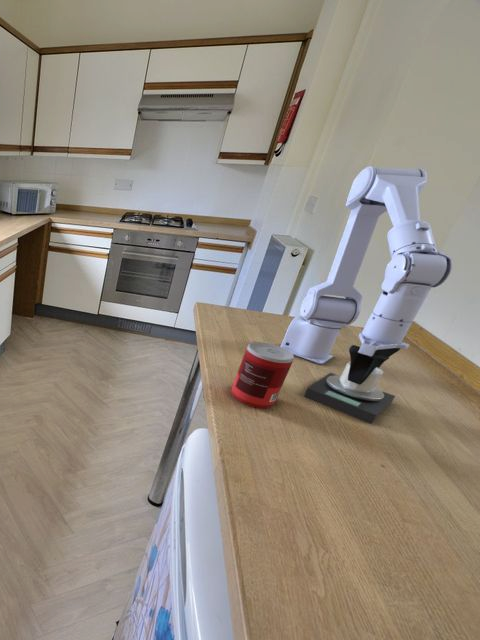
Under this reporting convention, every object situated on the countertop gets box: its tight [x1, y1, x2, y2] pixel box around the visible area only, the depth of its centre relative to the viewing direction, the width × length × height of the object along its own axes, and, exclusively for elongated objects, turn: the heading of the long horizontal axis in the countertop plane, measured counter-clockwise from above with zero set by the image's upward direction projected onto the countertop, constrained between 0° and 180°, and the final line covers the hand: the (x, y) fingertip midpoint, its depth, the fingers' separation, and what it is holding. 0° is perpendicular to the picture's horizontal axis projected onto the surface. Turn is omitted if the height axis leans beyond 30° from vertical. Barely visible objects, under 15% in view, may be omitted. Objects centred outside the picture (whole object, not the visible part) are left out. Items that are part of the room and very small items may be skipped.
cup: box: [340, 360, 384, 393], centre depth 83 cm, size 5×5×4 cm
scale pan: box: [326, 374, 384, 401], centre depth 84 cm, size 9×9×1 cm
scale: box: [303, 372, 396, 424], centre depth 84 cm, size 11×13×2 cm
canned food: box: [231, 341, 295, 409], centre depth 82 cm, size 8×8×11 cm
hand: (359, 378), depth 83 cm, fingers closed on cup, 5 cm apart
